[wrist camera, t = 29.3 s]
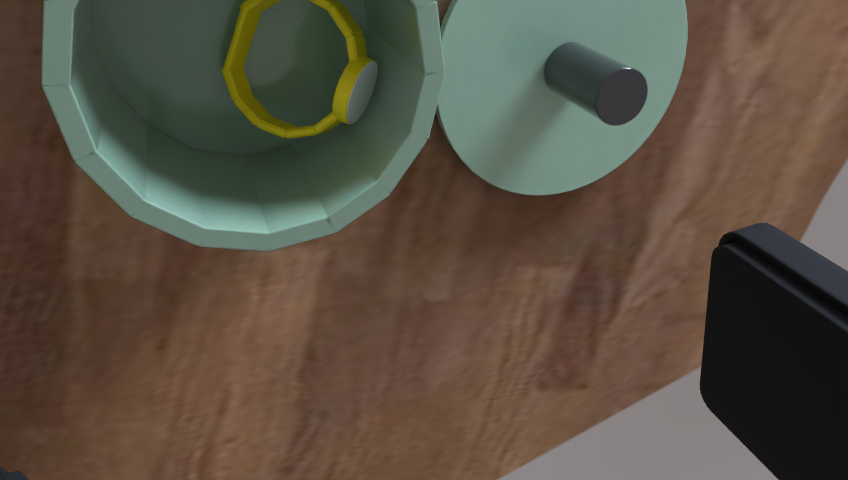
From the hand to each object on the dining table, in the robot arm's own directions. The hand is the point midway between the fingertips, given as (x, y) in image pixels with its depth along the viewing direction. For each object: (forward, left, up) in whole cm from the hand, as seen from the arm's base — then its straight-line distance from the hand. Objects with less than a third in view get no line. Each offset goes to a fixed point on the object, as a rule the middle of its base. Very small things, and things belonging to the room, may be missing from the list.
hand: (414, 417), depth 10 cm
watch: (0, 0, -24) cm, 24 cm away
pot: (0, 0, -25) cm, 25 cm away
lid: (+15, -5, -25) cm, 29 cm away
